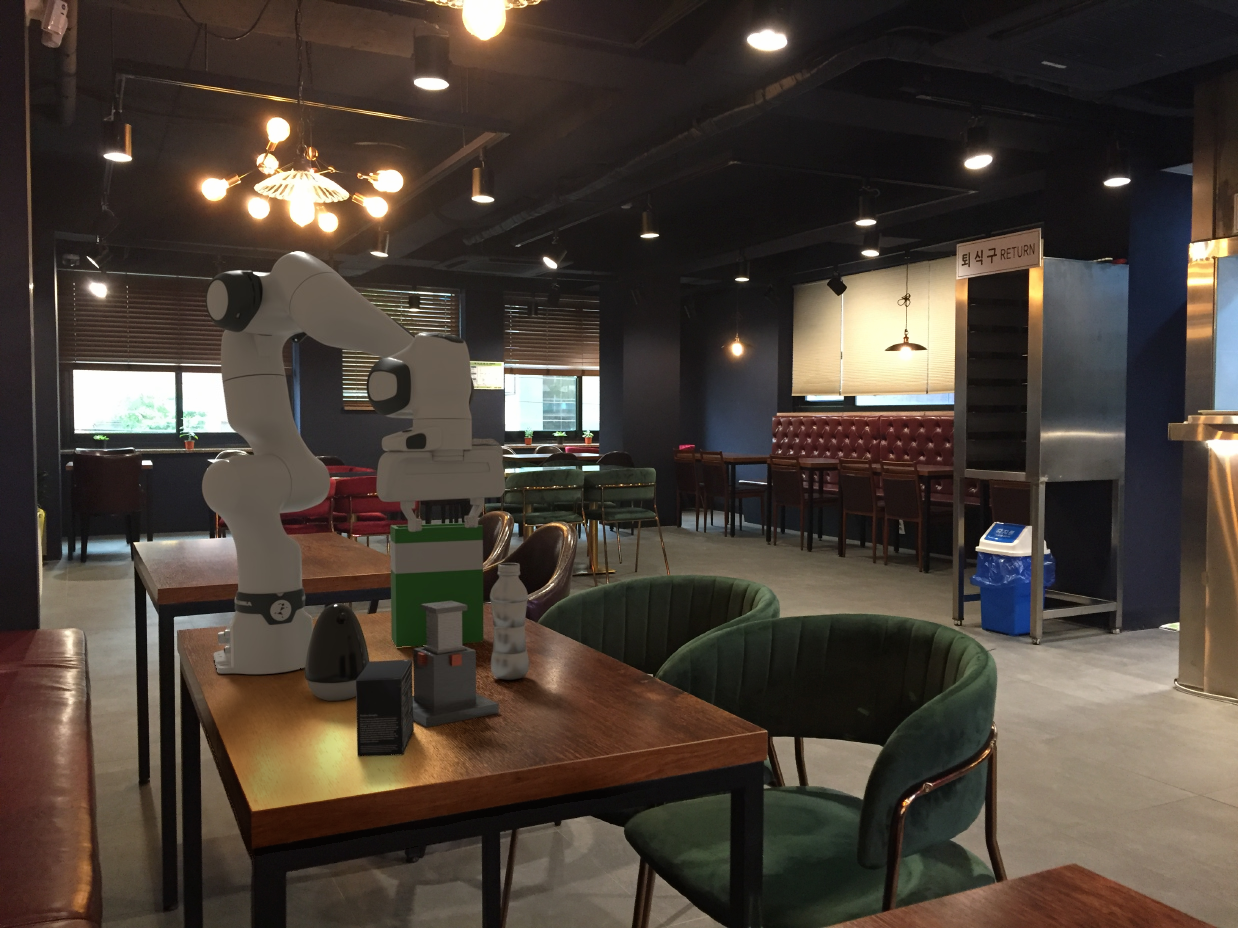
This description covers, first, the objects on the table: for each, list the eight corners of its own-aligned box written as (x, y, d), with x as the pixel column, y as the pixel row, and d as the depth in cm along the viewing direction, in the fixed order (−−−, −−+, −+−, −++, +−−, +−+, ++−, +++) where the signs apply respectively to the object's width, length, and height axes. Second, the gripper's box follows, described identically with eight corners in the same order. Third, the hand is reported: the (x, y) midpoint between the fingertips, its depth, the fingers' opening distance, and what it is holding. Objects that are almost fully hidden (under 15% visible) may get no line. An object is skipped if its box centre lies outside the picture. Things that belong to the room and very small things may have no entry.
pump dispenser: (311, 708, 149) (310, 611, 148) (300, 693, 158) (299, 601, 158) (377, 700, 154) (376, 605, 153) (362, 685, 163) (361, 596, 162)
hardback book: (475, 634, 205) (475, 522, 204) (483, 641, 198) (482, 525, 197) (391, 641, 199) (390, 525, 198) (396, 648, 192) (395, 528, 191)
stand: (391, 708, 149) (391, 647, 148) (461, 696, 156) (461, 637, 156) (426, 727, 139) (425, 662, 139) (498, 712, 146) (498, 650, 146)
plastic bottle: (523, 684, 163) (522, 567, 163) (485, 682, 165) (484, 566, 164) (533, 675, 170) (533, 562, 169) (497, 673, 171) (496, 561, 170)
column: (421, 699, 148) (420, 604, 148) (452, 694, 151) (451, 600, 151) (437, 707, 144) (436, 608, 143) (468, 701, 147) (467, 605, 146)
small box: (368, 732, 137) (367, 659, 137) (414, 731, 137) (414, 658, 137) (354, 757, 126) (353, 677, 126) (404, 755, 127) (403, 676, 127)
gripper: (492, 438, 155) (493, 523, 155) (371, 439, 143) (372, 531, 143) (512, 438, 150) (513, 526, 150) (388, 438, 138) (390, 535, 138)
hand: (443, 529), depth 147 cm, fingers open, 8 cm apart
